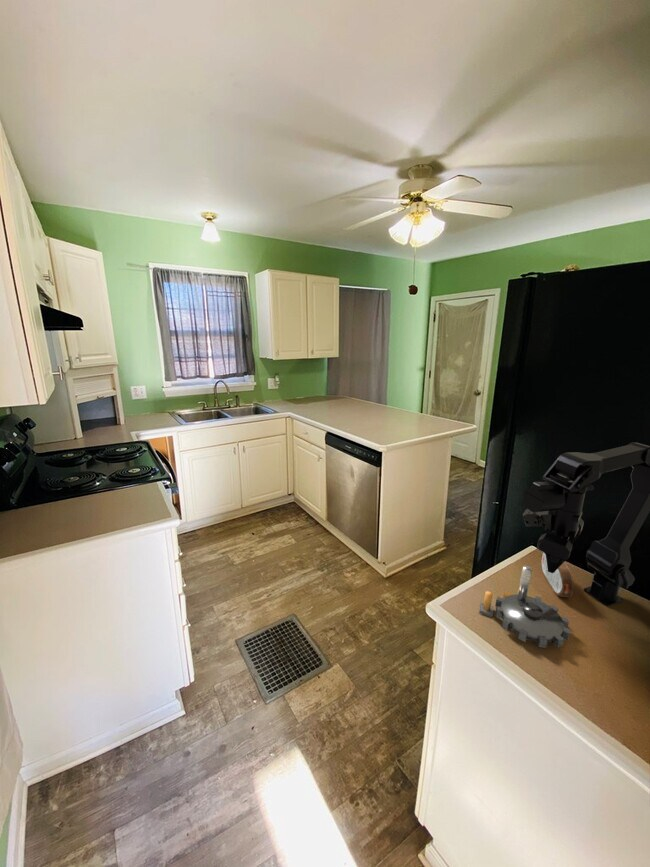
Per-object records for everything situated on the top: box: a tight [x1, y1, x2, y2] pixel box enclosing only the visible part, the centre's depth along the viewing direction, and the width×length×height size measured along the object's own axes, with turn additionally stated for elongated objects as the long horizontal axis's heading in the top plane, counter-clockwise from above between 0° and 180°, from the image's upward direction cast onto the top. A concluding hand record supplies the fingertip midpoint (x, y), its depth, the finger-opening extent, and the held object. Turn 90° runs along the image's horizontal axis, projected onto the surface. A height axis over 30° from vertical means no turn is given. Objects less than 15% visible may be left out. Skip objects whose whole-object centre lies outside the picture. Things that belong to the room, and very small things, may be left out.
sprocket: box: [494, 565, 572, 649], centre depth 83 cm, size 15×15×11 cm
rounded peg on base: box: [478, 590, 494, 618], centre depth 88 cm, size 3×3×5 cm
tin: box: [540, 551, 574, 598], centre depth 99 cm, size 15×3×8 cm, turn 168°
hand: (555, 563), depth 88 cm, fingers open, 9 cm apart
